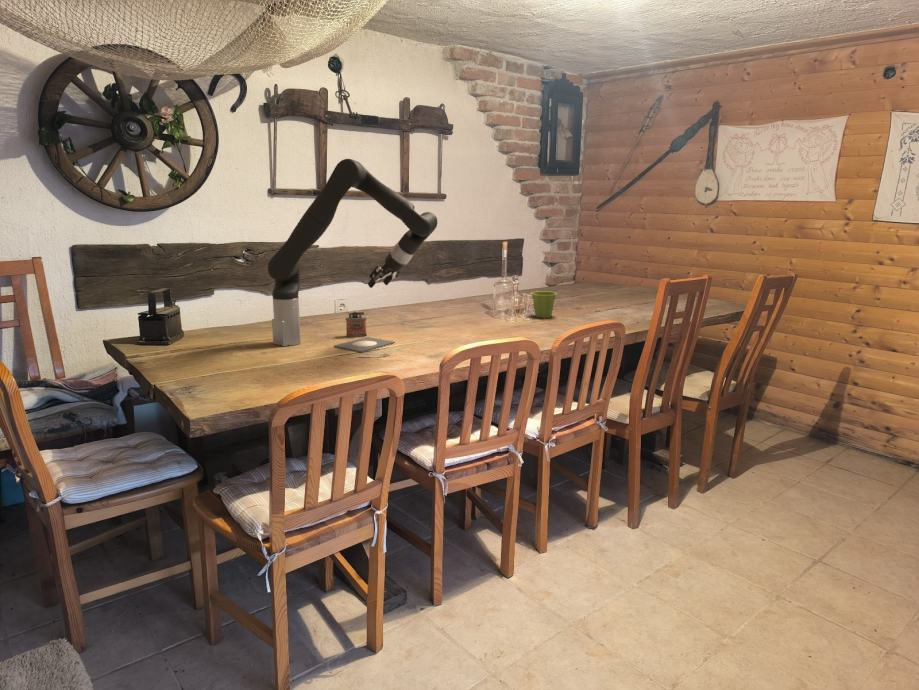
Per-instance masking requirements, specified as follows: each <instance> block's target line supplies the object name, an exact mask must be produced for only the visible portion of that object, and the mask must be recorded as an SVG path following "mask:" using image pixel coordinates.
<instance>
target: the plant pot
mask: <svg viewBox="0 0 919 690" xmlns="http://www.w3.org/2000/svg"><path fill="white" fill-rule="evenodd" d="M530 294H531V296H532V300H533V308H534V315H535V317H536V318H538V319H540V318H541V319H549V318H552V315H553V309H554V304H555V300H556V295H557V294H558V293H557V292H555V291H550V290H549V291H548V290H547V291H545V290H543V291H542V290H541V291H540V290H538V291H533V292H530Z"/></svg>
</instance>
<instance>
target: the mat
mask: <svg viewBox="0 0 919 690" xmlns="http://www.w3.org/2000/svg"><path fill="white" fill-rule="evenodd" d="M393 343H395V344H396V341H392V340H387V339H381V338H374V337H370V336H366V337H360V338H358V339H353V340H350V341H346V342H342V343H339V344H335V345H333V348H336V349H341V350H346V351H351V352H355V353H361V354H362V353H365V352H369V351H373V349H374V350H376V348H377V349H381V348H383V346H384V347H387V346H386V345H388V346H390V345H389V344H391V345H394V344H393ZM380 347H381V348H380Z"/></svg>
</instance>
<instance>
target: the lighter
mask: <svg viewBox="0 0 919 690" xmlns="http://www.w3.org/2000/svg"><path fill="white" fill-rule="evenodd" d="M364 315H365V312H364V311H363V310H362V311H356V310H354V311H351V312H348V317H346V318H345V326H346V328H345V329H346V330H345V331H346V338H365V336H366V337H368V336H367V335H368V334H367V317H366V316H364Z"/></svg>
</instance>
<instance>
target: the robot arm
mask: <svg viewBox="0 0 919 690" xmlns="http://www.w3.org/2000/svg"><path fill="white" fill-rule="evenodd" d="M351 188H354V189H356V190H358V191H361V192H362V193H365V194H366V195H367V196H369V197H371V198H372V199H373V200H375V201H376V202H377V203H378V204H379V205H380V206H381V207H382V208H384V209H385V211H387V212H388V213H390V214H392V215H393V216H394V217H396V218H398V219H399V220H400V221H401V222H402V223H403V224H404V225H405V227H407V228H408V230H407V231H406V232H405V233H404V234H403V235H402V236H401V238H400V239H399V241H397V243H396V244H395V245H394V246H393V247H392V248H391V250H389V252H388V253H387V255H386V256H385V258H384V264H383V265H382V266H381V267H380V265H376V266H375V268H374V269H373V271H372V272H371V273H370V274H369V276H368V278H370V280H369V281H368V283H367V285H368V287H369V288H370V289H372V288H373V287H374V286H375V285H376V283H377V282H378V281H379V280H383V284H384V285H385V286H388V285H389V284H390V283H391V282H392V280H394V279H395V278H398V277H400V275H401V274H402V273H403V271H404V270H405V268H406V266H407V265H408V263H409V262H410V261H411V259H412V258H413V256H414V255H415V254H416V252H417V251H418V249H419V248H420V247H421V246H422V244H423V243H424V242H425V241H426V240H427V239H428V238H429V237H430V236H431V234H432V233H433V232H435V230H436V228H437V226H438V217H437V216H436V215H435V214H434V213H433V212H431V211H425V212H423V213H420V214H419V213H418V212H417V211H416V210H415V205H414V204H413V203H412V202H411V201H410V200H408V199H407V198H406V197H404V196H402V195H401V194H400V193H398V192H396V191H395V190H393V189H392V188H390V187H388V185H387V186H386V185H385V184H384V183H382V182H381V181H380V180H379V179H377V178H376V177H375V176H374V175H373V174H372V173H370V171H369V170H368V169H366V168H365V166H364V165H363V164H362V163H361V162H360V161H357V160H355V159H352V158H345V159H341V160H340V161H339V162H338V163H337V164H336V165H335V167H334V169H333V170H332V173H331V174H330V176H329V178H328V179H327V182H326V183H325V185H324V186H323V188H322V189H321V191H320V192H319V193H318V195H317V196H316V197H315V198H314V200H313V201H312V202H311V204H310V205H309V206H308V208H307V209H306V211H305V212H304V214H303V215H302V217H301V218H299V221H298V222H297V224H296V225H295V227H294V228H293V230H292V232H291V234H289V237H288V238H287V240H286V241H285V242H284V244H283V245H282V246H281V247H280V248H279V249H278V251H277V252H275V254H274V255H273V256H272V257H271V258H270V260H269V261H268V265H267V272H268V274H269V277H270V278H272V279H273V280H274V287H273V289H272V291H271V292H272V308H273V318H272V319H271V329H272V341H273V342H272V343H273V345H276V344H277V345H276V346H280V345H281V347H287V346H288V345H289V346H296V345H299V344H301V342H302V340H301V338H302V337H301V321H300V320H301V319H300V302H299V301H300V300H299V291H300V288H301V286H300V285H301V284H300V282H301V280H300V277H301V276H300V264H299V261H300V259H301V258H302V256H303V255H304V254H305V253H306V252H307V250H309V249H310V248H311V247H312V246H313V245H314V244H315V243H316V242H317V241H319V239H320V238H321V237H322V236H323V235H324V234H325V232H326V230H327V229H328V228H329V226H330V225H331V223H332V222H333V219H334V218H335V214H336V212H337V209H338V207H339V203H340V202H341V201H342V199H343V197H344V196H345V195H346V194H347V193H348V191H349V190H350V189H351Z"/></svg>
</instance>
